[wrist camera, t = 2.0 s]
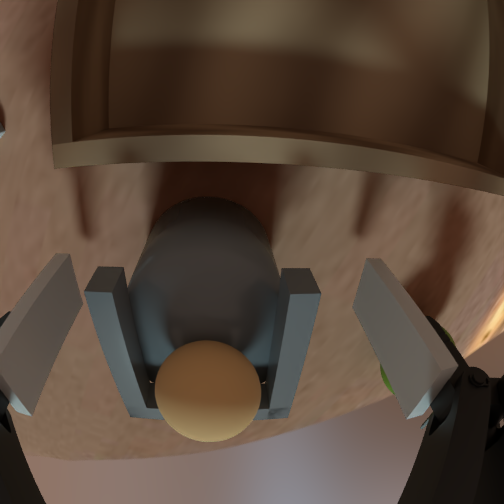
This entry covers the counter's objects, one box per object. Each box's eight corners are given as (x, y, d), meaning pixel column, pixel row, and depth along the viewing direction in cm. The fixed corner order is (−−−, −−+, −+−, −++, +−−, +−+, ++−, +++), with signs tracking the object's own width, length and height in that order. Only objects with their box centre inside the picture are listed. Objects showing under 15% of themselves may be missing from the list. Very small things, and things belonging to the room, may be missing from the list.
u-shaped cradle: (154, 303, 16) (130, 416, 10) (142, 196, 13) (84, 291, 7) (264, 303, 17) (287, 417, 10) (275, 198, 14) (321, 293, 8)
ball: (163, 375, 10) (164, 454, 8) (149, 319, 9) (142, 418, 6) (249, 371, 11) (263, 449, 8) (257, 316, 9) (277, 412, 7)
